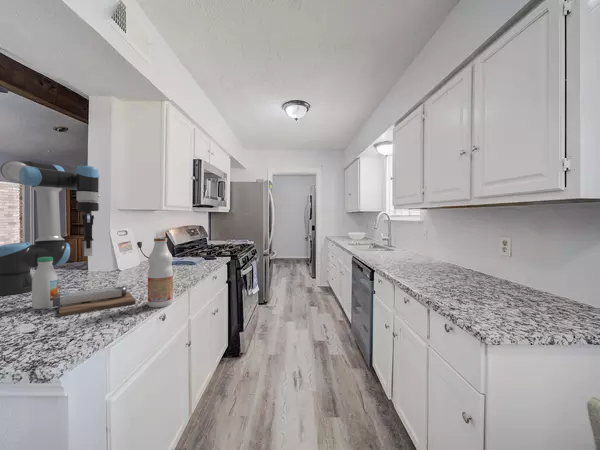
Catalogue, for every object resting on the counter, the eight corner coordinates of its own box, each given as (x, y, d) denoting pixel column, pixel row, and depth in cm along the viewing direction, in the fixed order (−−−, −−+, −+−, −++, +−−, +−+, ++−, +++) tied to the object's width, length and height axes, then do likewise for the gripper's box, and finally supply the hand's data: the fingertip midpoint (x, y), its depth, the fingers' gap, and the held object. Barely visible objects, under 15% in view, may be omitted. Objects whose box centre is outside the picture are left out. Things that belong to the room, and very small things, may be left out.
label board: (60, 305, 110) (60, 301, 110) (129, 295, 125) (129, 291, 125) (59, 316, 98) (59, 311, 98) (135, 304, 113) (135, 299, 113)
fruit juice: (157, 309, 107) (157, 239, 106) (142, 305, 111) (142, 238, 110) (177, 303, 115) (178, 237, 115) (163, 299, 119) (163, 237, 119)
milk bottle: (42, 310, 104) (41, 259, 104) (26, 309, 106) (26, 258, 105) (63, 304, 112) (63, 256, 111) (48, 303, 113) (48, 255, 113)
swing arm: (125, 292, 123) (125, 285, 123) (127, 295, 118) (127, 288, 118) (53, 302, 107) (53, 294, 107) (52, 306, 102) (52, 298, 102)
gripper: (99, 201, 115) (100, 256, 115) (97, 203, 125) (97, 253, 125) (76, 200, 110) (77, 258, 111) (76, 202, 120) (76, 254, 121)
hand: (88, 255), depth 118 cm, fingers closed
